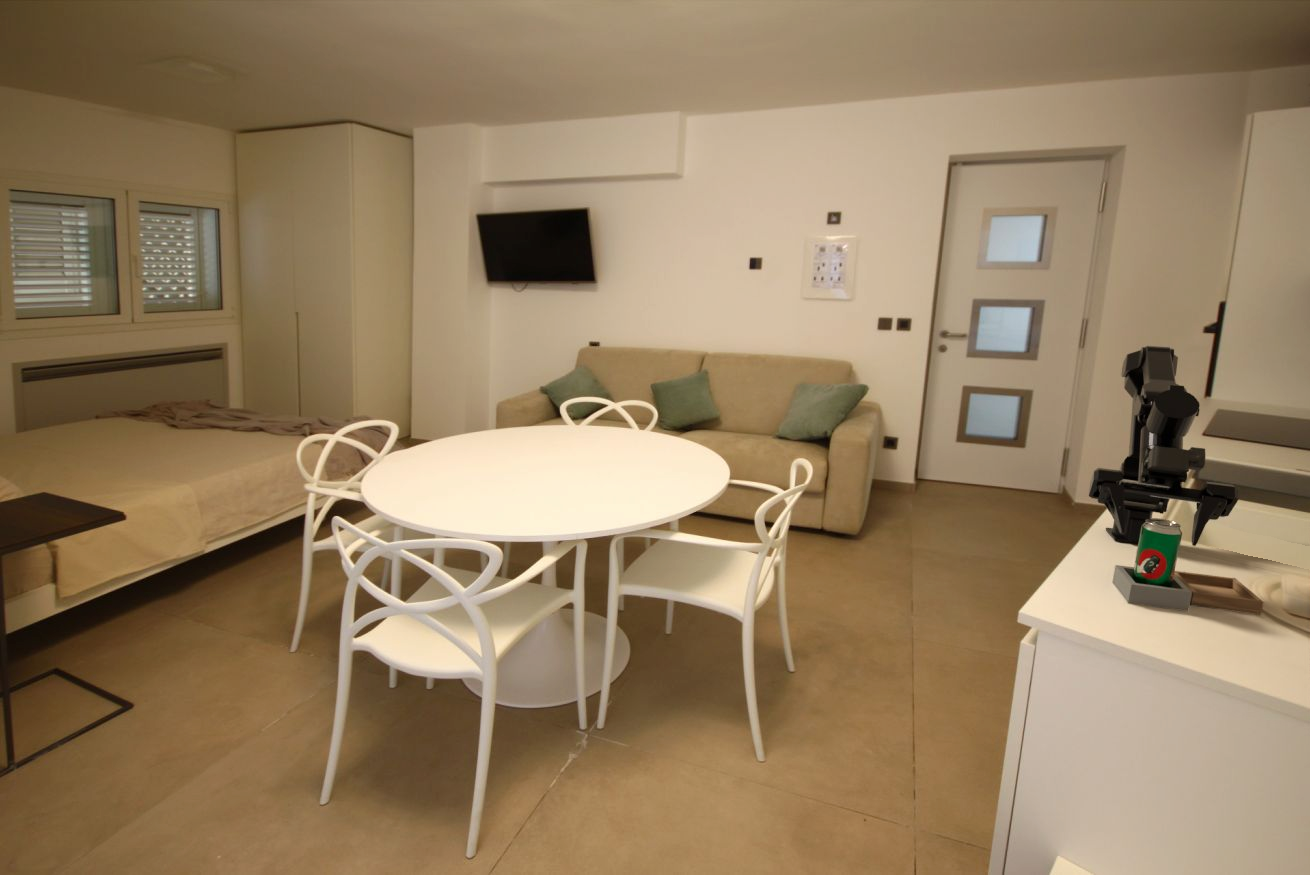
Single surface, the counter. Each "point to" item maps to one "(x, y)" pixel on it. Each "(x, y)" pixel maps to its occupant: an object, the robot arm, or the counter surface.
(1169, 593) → the box
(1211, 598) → the walnut tray
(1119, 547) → the counter surface
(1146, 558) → the soda can
